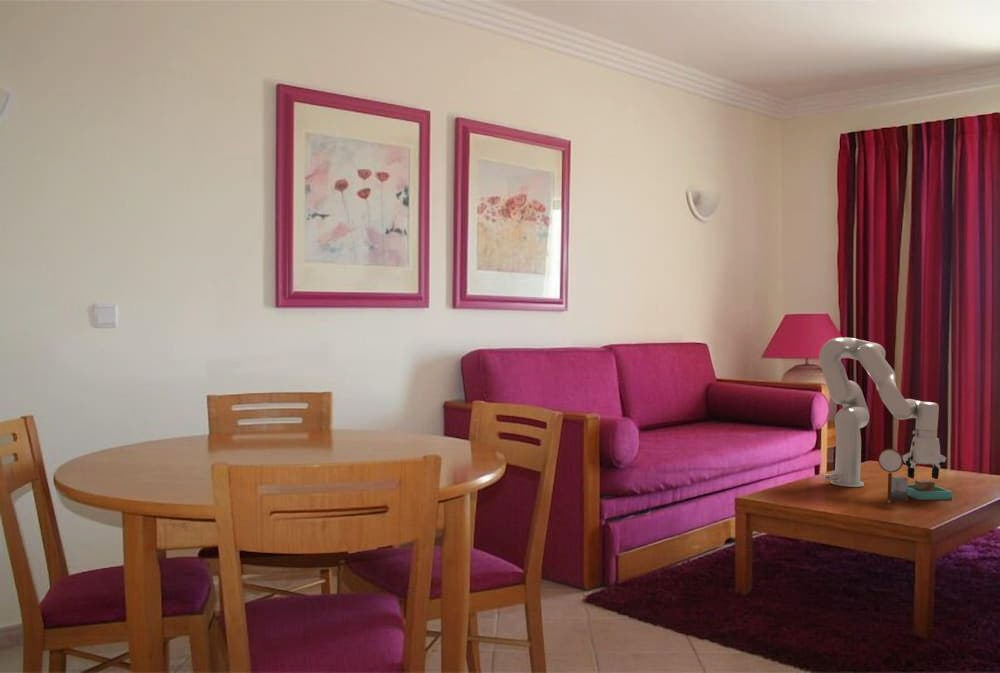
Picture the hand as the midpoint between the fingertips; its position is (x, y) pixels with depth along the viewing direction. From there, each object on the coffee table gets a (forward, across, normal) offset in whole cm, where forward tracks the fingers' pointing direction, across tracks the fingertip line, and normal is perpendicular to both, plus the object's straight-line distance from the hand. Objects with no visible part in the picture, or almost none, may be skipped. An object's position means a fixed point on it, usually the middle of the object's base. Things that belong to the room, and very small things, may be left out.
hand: (922, 478), depth 343 cm
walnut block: (+6, +1, -1) cm, 6 cm away
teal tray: (+7, +1, -1) cm, 7 cm away
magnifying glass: (+7, -20, -13) cm, 25 cm away
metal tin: (+7, -13, -7) cm, 16 cm away
